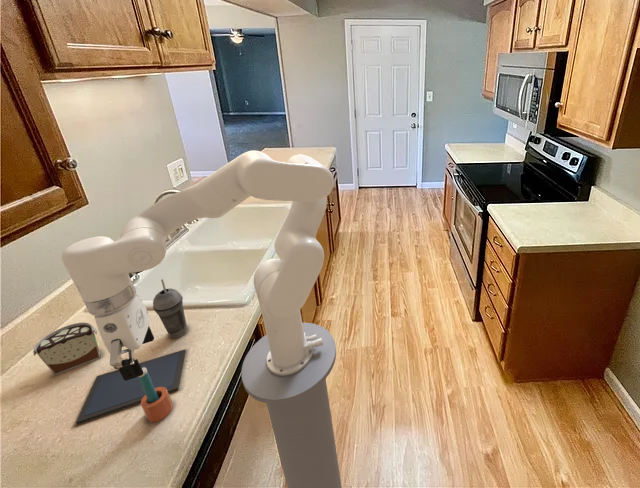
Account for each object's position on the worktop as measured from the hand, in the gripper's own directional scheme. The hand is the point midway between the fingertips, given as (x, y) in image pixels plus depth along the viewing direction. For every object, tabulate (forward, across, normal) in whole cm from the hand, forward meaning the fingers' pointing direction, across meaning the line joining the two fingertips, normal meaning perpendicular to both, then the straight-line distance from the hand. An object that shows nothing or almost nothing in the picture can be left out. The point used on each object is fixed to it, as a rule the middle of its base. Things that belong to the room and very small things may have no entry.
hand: (140, 358), depth 72 cm
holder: (+17, 0, +1) cm, 17 cm away
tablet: (+17, +11, +8) cm, 21 cm away
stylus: (+16, 0, +1) cm, 16 cm away
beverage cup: (+17, +26, +1) cm, 31 cm away
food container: (+16, +27, +25) cm, 40 cm away
